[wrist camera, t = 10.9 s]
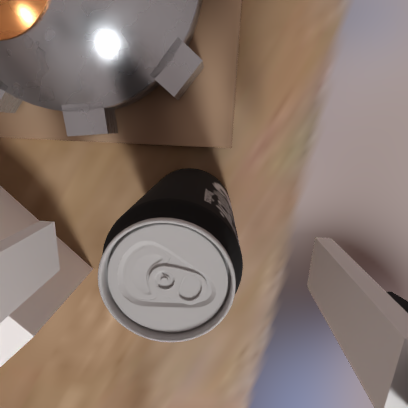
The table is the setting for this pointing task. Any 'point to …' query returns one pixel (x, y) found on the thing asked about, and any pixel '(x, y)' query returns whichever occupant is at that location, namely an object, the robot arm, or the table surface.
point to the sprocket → (94, 56)
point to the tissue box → (47, 294)
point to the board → (165, 97)
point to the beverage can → (173, 259)
